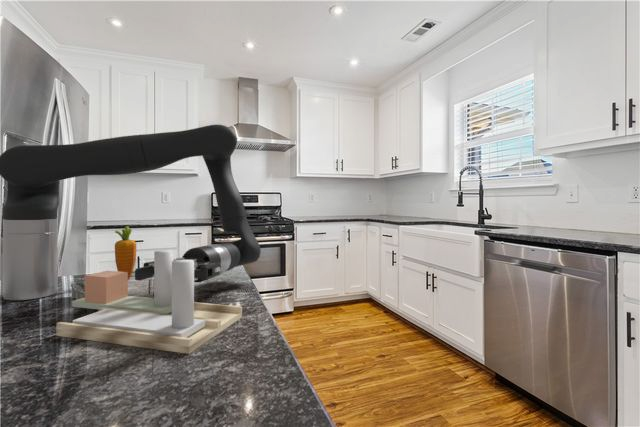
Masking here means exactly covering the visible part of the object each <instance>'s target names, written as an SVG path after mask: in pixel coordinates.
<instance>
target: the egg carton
mask: <svg viewBox="0 0 640 427" xmlns="http://www.w3.org/2000/svg"><path fill="white" fill-rule="evenodd" d="M69 285H70V287H71V298H72V299H75V300H78V299H81V298H85V281H79V282H76V281H70V283H69Z"/></svg>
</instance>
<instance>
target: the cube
mask: <svg viewBox="0 0 640 427" xmlns="http://www.w3.org/2000/svg"><path fill="white" fill-rule="evenodd" d="M84 282H85V302H93V303H103V304H107V303H110V302H113V301H116V300H119V299H122V298H126V297H128V296H129V295H128V294H129V292H128V291H129V290H128V288H129V287H128V286H129V280H128V272H120V271H118V270H104V271H99V272H95V273H91V274H86V275H84Z"/></svg>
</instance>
